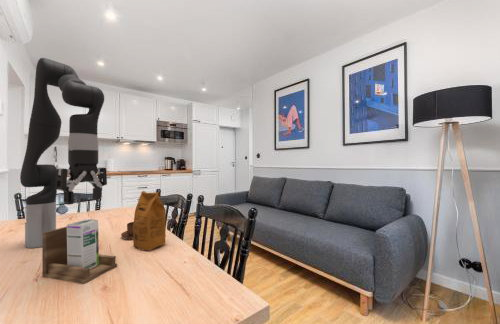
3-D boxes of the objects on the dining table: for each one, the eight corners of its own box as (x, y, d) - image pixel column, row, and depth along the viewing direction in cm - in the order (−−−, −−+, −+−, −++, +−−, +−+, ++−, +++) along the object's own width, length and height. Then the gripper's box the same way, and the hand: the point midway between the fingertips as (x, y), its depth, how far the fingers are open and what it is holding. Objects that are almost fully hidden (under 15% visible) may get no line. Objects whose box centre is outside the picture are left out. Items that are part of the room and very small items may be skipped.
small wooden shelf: (42, 276, 67) (42, 232, 67) (79, 261, 78) (79, 223, 78) (83, 284, 63) (83, 237, 63) (116, 266, 73) (116, 226, 73)
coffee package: (151, 239, 100) (151, 189, 100) (169, 245, 92) (168, 191, 92) (128, 246, 91) (128, 191, 92) (145, 253, 84) (145, 194, 84)
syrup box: (82, 273, 66) (82, 224, 66) (66, 272, 68) (66, 223, 68) (99, 265, 72) (99, 219, 72) (84, 263, 73) (83, 218, 73)
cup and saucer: (155, 235, 106) (155, 222, 106) (130, 242, 96) (130, 228, 96) (140, 231, 112) (140, 218, 113) (115, 238, 102) (115, 224, 102)
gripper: (95, 150, 78) (95, 197, 78) (49, 148, 64) (48, 205, 64) (113, 150, 76) (112, 198, 76) (68, 147, 62) (68, 206, 62)
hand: (83, 201), depth 70 cm, fingers open, 8 cm apart
